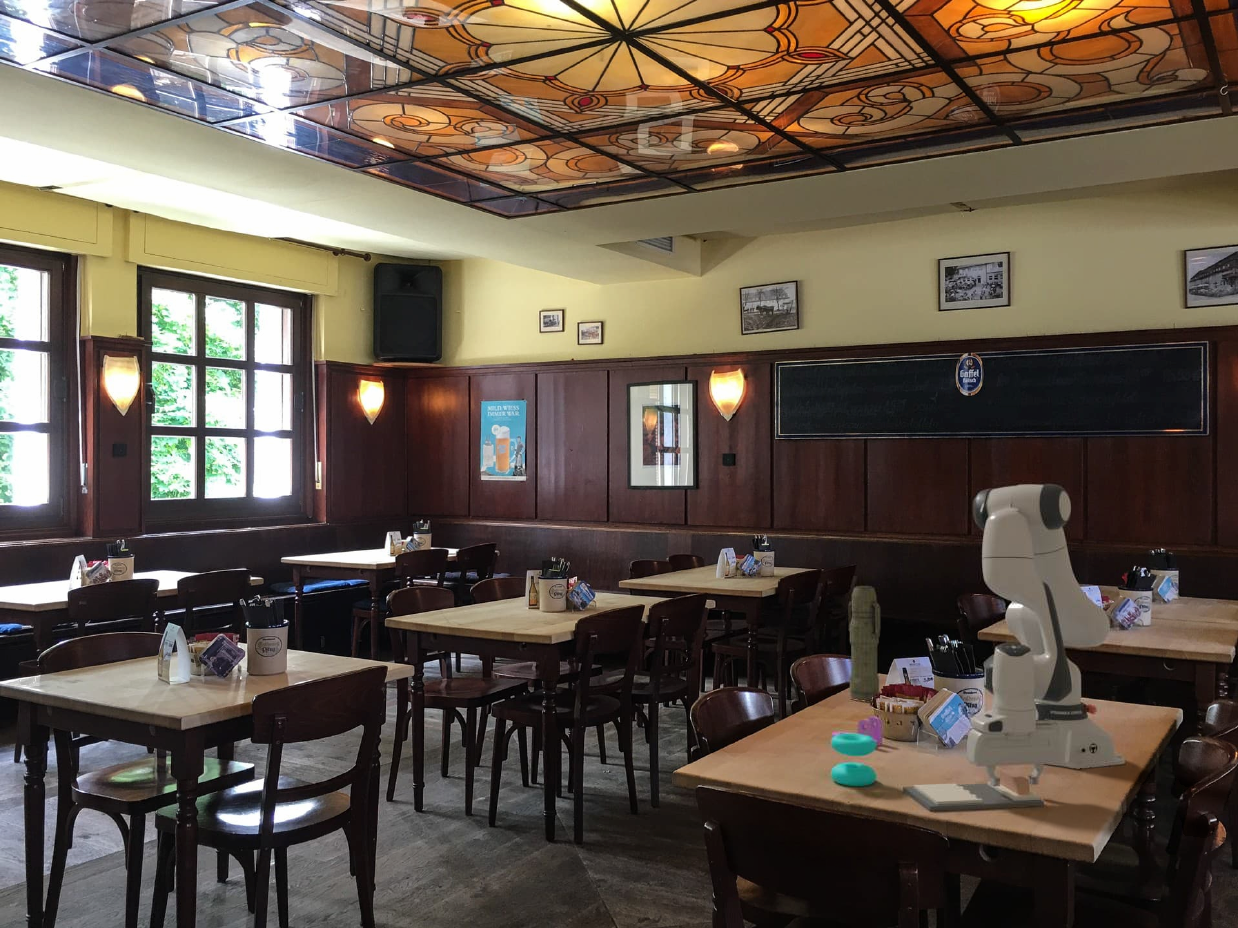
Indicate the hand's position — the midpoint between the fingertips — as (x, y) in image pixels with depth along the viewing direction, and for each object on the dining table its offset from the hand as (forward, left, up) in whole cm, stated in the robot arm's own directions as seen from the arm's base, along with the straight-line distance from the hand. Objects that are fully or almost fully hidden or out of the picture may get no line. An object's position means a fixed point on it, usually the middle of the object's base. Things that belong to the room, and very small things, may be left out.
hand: (1014, 784), depth 229 cm
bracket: (+17, -51, -3) cm, 54 cm away
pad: (+10, 0, -3) cm, 11 cm away
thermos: (-5, -103, -3) cm, 103 cm away
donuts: (+30, -16, -3) cm, 34 cm away
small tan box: (0, 0, -1) cm, 2 cm away
